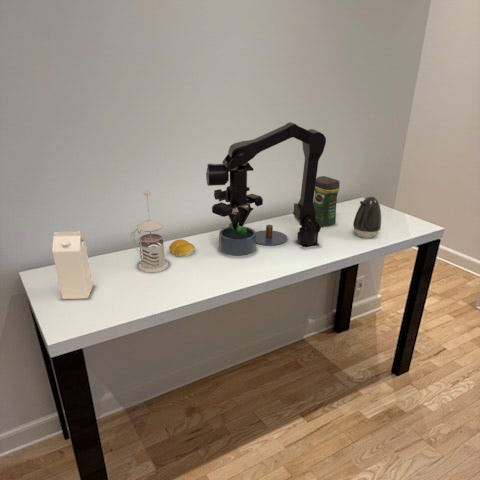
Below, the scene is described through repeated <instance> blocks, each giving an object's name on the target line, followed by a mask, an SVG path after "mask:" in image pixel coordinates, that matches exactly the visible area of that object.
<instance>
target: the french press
mask: <svg viewBox="0 0 480 480" xmlns="http://www.w3.org/2000/svg"><path fill="white" fill-rule="evenodd" d="M150 195H151V193H150V191H149V190H144V191H143V196H146V203H147V205H146V206H149V199H148V198H149V197H148V196H150ZM149 208H150V207H147V214H148V217H150V209H149ZM163 227H164V225H163V223H161V222H159V221H158V220H155V219H154V220H152V219H150V218H148V220H143V221H141V222H139V223H138V224H137V225H136V229H134V230H133V231H132V232H131V234H130V242H131V244H132V247H133V248H134V249H135V250H137V251H138V252H139V257H140V263H139V264H138V266H137V267H138V269H139V270H140V271H142V272H144V273H145V272H146V273H158V272H161V271H162V272H163V271H164V270H166V269H168V267H169V262H167V261H166V258H165V244H164V240H163V236H162V235H160V234H157V233H154V232H157V231H160V230H162V229H163ZM136 231H137V234H141V233H142V232H144V233H147V234H143V235H141V236H140V237H139V238H138V239H139V242H138V244H137V242H136V240H135V238H132V236H133V237H135V234H136ZM148 233H149V234H148ZM133 241H134V242H133ZM134 244H135V245H136V246H137V247H138V248H137V247H136V246H135V245H134Z"/></svg>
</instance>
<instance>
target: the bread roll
mask: <svg viewBox="0 0 480 480" xmlns="http://www.w3.org/2000/svg"><path fill="white" fill-rule="evenodd" d="M168 250H169V251H170V253H172V255H175V256H176V257H179V258H182V257H184V258H185V257H190V256H191V255H194V254H195V251H196V247H195V245H194V244H193V243H191V242H189V241H188V240H186V239H181V238H180V239H175V240H174V241H173V242H171V243H170V244H169V247H168Z"/></svg>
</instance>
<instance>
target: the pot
mask: <svg viewBox="0 0 480 480" xmlns="http://www.w3.org/2000/svg"><path fill="white" fill-rule="evenodd" d="M244 227H245V228H246V231H247V232H246V233H245V234H243V235H242V234H241V233H239V232H237V231H234V230H232V229H230V228H229V226H227V227H224V228H222V229H220V230H219V232H218V250H219V252H221V253H223V255H227V256H232V257H244V256H248V255H249V256H250V255H251V254H254V253H255V252H256V249H257V248H256V245H257V244H256V232H257V231H256V230H255V229H253V228H251V227H247V226H243V228H244Z"/></svg>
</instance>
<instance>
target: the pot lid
mask: <svg viewBox="0 0 480 480" xmlns="http://www.w3.org/2000/svg"><path fill="white" fill-rule="evenodd" d="M273 229H274V226H273V224H266V225H265V229H264V230H257V231H255V232H256V245H258V246H259V245H260V246H265V247H266V246H267V247H275V246H281V245H284V244H285V243H287V242H288V238H289V237H288V236H287V234H285V233H284V232H281V231H278V230H273Z"/></svg>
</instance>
